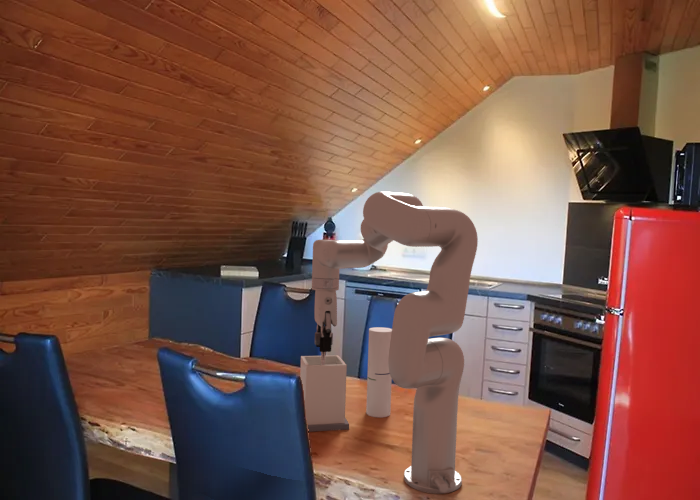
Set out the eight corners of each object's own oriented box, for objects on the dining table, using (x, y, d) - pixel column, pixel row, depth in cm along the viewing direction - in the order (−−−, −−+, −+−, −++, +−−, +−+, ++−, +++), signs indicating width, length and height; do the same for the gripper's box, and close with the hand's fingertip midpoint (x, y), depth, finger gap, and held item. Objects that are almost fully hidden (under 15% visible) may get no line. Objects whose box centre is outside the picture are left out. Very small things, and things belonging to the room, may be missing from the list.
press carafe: (349, 429, 153) (351, 365, 152) (301, 431, 150) (303, 367, 149) (339, 413, 166) (341, 354, 165) (295, 415, 163) (296, 355, 162)
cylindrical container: (388, 418, 163) (391, 332, 161) (364, 416, 164) (367, 330, 163) (391, 410, 170) (394, 328, 168) (368, 408, 171) (371, 326, 170)
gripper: (345, 288, 149) (343, 356, 150) (332, 280, 165) (330, 342, 166) (317, 287, 147) (315, 356, 148) (307, 280, 163) (305, 342, 164)
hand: (323, 348), depth 157 cm, fingers closed on plunger, 5 cm apart
